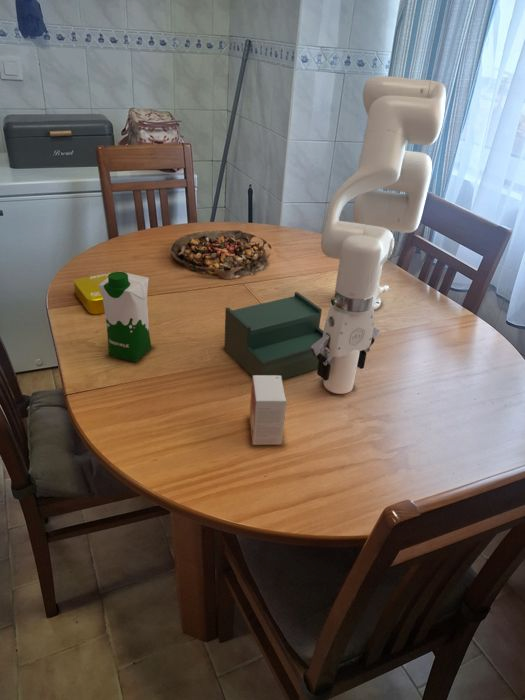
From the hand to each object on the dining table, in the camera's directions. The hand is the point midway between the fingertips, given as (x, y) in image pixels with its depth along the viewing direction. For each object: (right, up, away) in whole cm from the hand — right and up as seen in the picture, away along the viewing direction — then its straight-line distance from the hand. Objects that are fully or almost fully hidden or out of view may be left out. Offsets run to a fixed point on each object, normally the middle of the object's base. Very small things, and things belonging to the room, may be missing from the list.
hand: (340, 371), depth 109 cm
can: (0, -4, +2) cm, 4 cm away
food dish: (-30, +35, +60) cm, 76 cm away
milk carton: (-47, +4, +9) cm, 48 cm away
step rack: (-13, +3, +11) cm, 17 cm away
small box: (-16, -11, -11) cm, 23 cm away
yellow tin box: (-59, +18, +31) cm, 69 cm away
